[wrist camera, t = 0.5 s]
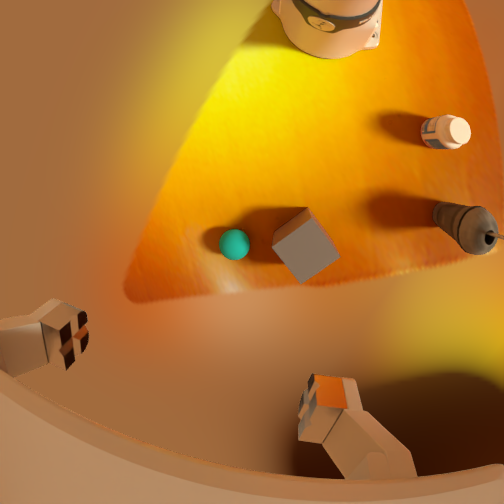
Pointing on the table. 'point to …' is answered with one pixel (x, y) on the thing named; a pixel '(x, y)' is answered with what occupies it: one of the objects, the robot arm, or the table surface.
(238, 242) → the ball
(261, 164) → the table surface
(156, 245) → the table surface
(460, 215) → the beverage cup
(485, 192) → the table surface
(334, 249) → the matte grey cube
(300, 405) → the robot arm
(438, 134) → the pill bottle
